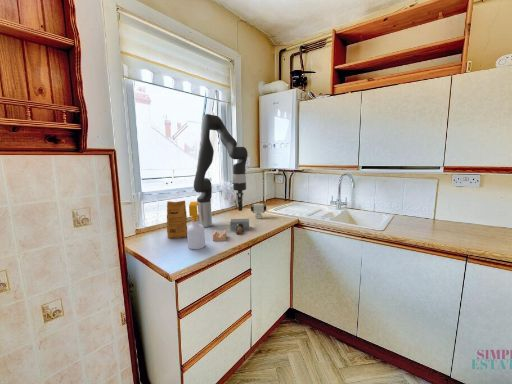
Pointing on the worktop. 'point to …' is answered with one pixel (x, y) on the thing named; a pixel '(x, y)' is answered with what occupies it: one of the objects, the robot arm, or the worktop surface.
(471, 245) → the worktop surface
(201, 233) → the soap bottle
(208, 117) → the robot arm
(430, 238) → the worktop surface
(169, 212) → the coffee package
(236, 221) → the grey rectangular block
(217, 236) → the v block
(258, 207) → the pneumatic valve
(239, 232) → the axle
